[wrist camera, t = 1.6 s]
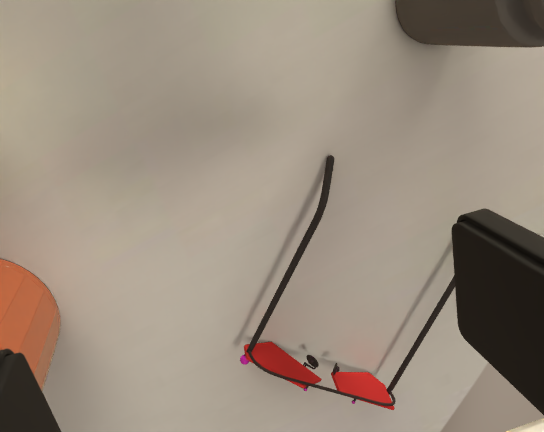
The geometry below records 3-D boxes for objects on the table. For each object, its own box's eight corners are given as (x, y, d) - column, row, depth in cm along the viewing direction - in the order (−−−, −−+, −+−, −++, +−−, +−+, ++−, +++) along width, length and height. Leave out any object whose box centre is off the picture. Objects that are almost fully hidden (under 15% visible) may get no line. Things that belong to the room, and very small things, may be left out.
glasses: (232, 342, 39) (243, 383, 34) (327, 153, 35) (353, 170, 31) (374, 383, 44) (400, 424, 39) (470, 220, 40) (511, 243, 36)
